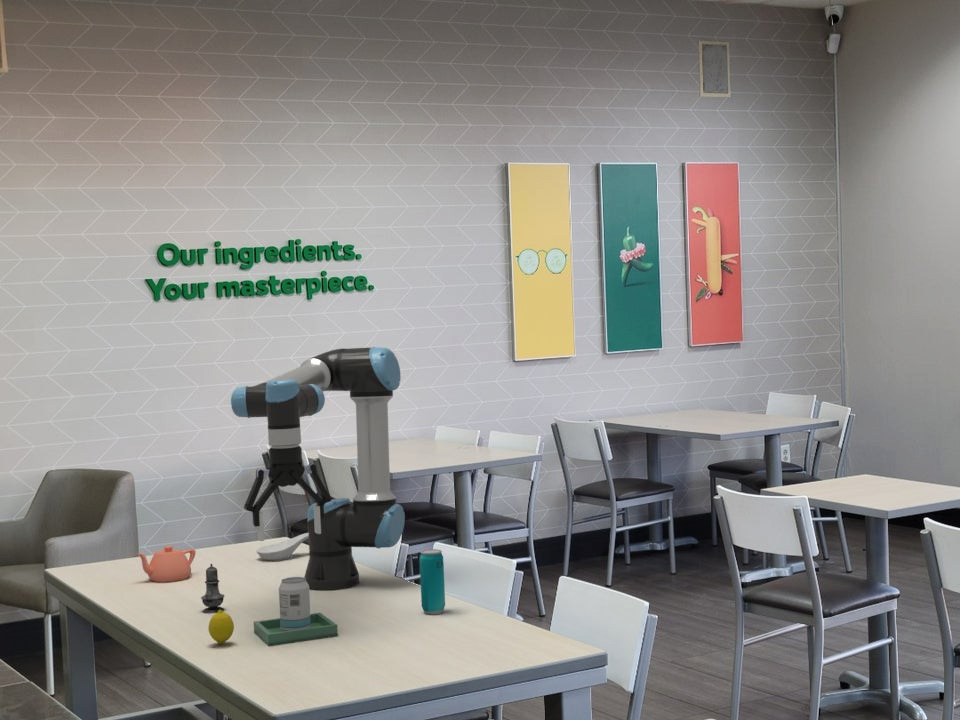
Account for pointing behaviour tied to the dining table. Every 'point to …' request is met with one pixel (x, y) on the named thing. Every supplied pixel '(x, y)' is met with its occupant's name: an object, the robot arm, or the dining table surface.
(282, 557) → the spoon rest
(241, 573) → the dining table surface
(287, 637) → the tray
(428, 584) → the beverage can
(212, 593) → the salt shaker
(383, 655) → the dining table surface
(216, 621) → the fruit
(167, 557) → the teapot
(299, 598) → the beverage can
